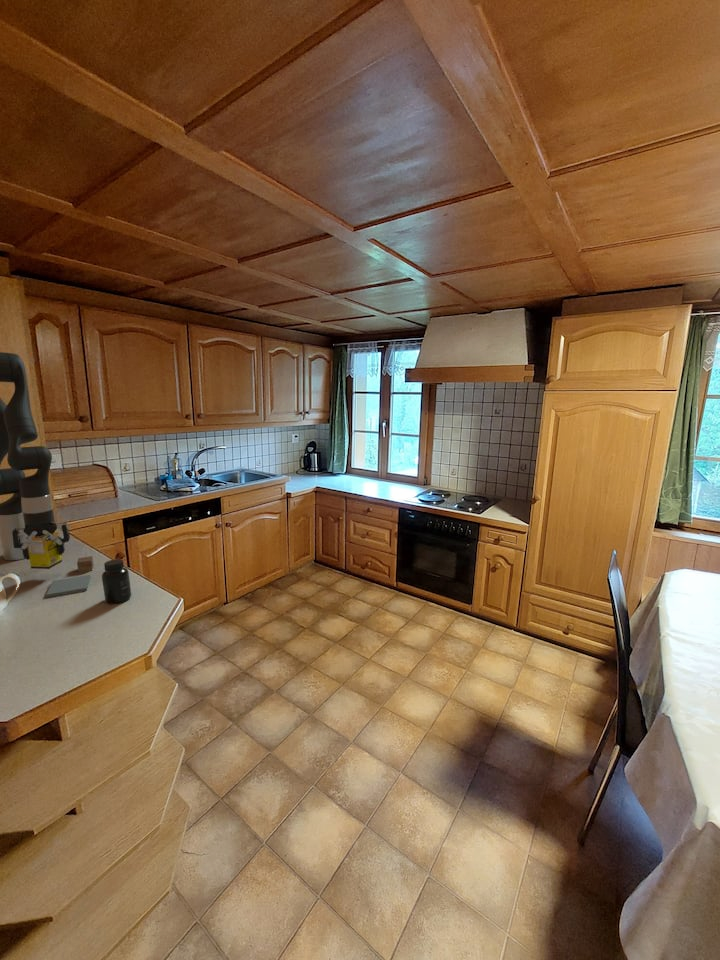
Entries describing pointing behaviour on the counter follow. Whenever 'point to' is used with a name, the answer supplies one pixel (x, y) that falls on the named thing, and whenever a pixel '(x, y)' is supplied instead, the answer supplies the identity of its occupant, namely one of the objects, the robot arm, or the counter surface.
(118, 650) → the counter surface
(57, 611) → the counter surface
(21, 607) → the counter surface
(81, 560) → the walnut block
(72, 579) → the pad
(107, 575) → the supplement bottle
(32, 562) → the supplement box
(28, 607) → the counter surface
